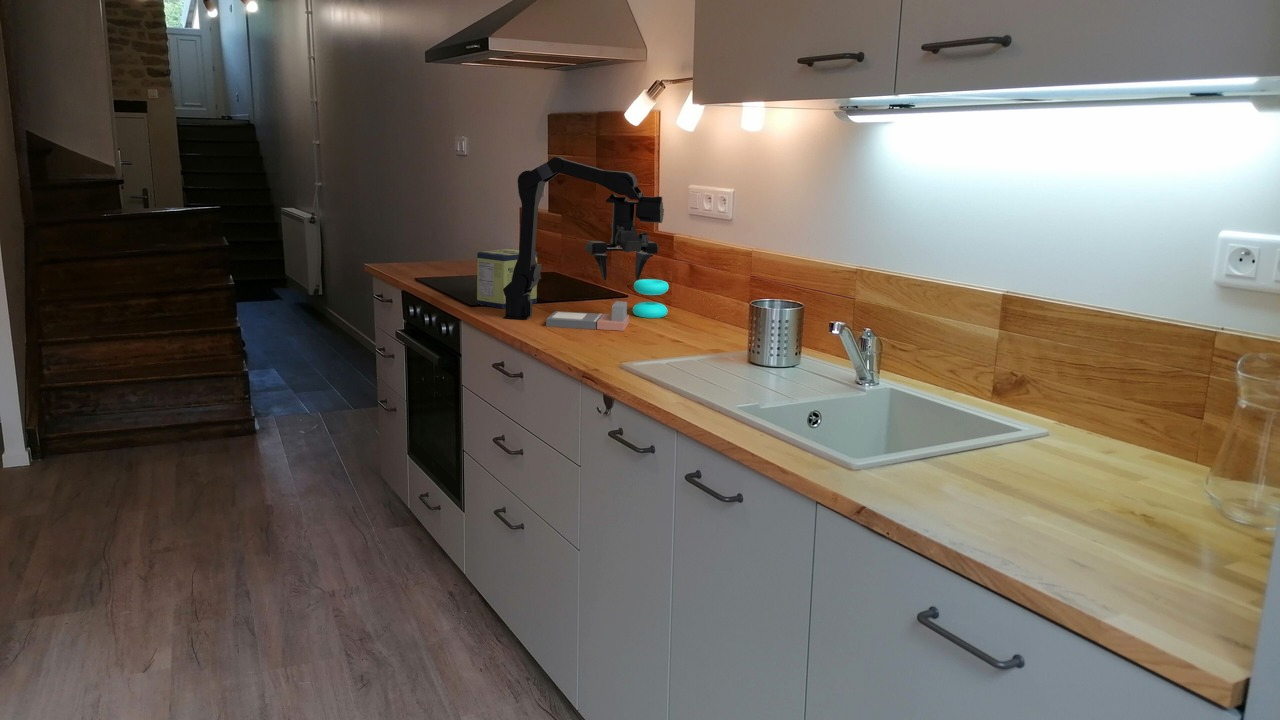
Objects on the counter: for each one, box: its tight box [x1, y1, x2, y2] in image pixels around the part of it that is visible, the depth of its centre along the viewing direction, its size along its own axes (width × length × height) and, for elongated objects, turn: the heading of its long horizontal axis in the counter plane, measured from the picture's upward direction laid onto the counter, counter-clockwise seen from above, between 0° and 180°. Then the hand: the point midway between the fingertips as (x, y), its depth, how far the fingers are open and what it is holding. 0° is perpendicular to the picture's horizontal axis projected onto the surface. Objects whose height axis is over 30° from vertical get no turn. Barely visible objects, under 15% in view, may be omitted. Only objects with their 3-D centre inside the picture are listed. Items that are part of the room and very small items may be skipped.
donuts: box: [632, 278, 670, 319], centre depth 266 cm, size 10×10×10 cm
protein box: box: [476, 248, 538, 310], centre depth 275 cm, size 10×16×16 cm
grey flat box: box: [545, 310, 604, 330], centre depth 251 cm, size 13×12×2 cm
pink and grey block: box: [596, 300, 630, 332], centre depth 249 cm, size 7×12×6 cm, turn 174°
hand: (621, 279), depth 249 cm, fingers open, 9 cm apart
